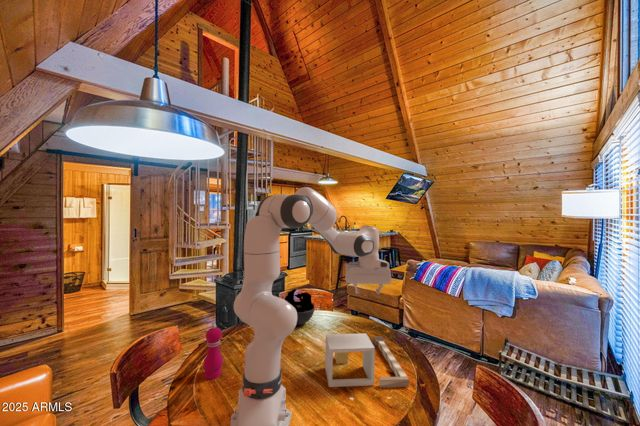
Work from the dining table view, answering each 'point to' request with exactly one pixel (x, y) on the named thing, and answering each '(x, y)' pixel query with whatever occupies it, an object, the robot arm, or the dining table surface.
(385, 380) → the pale grey hook
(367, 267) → the robot arm
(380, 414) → the dining table surface
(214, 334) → the pepper mill
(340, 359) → the ochre cube
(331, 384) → the cubby
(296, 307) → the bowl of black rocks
